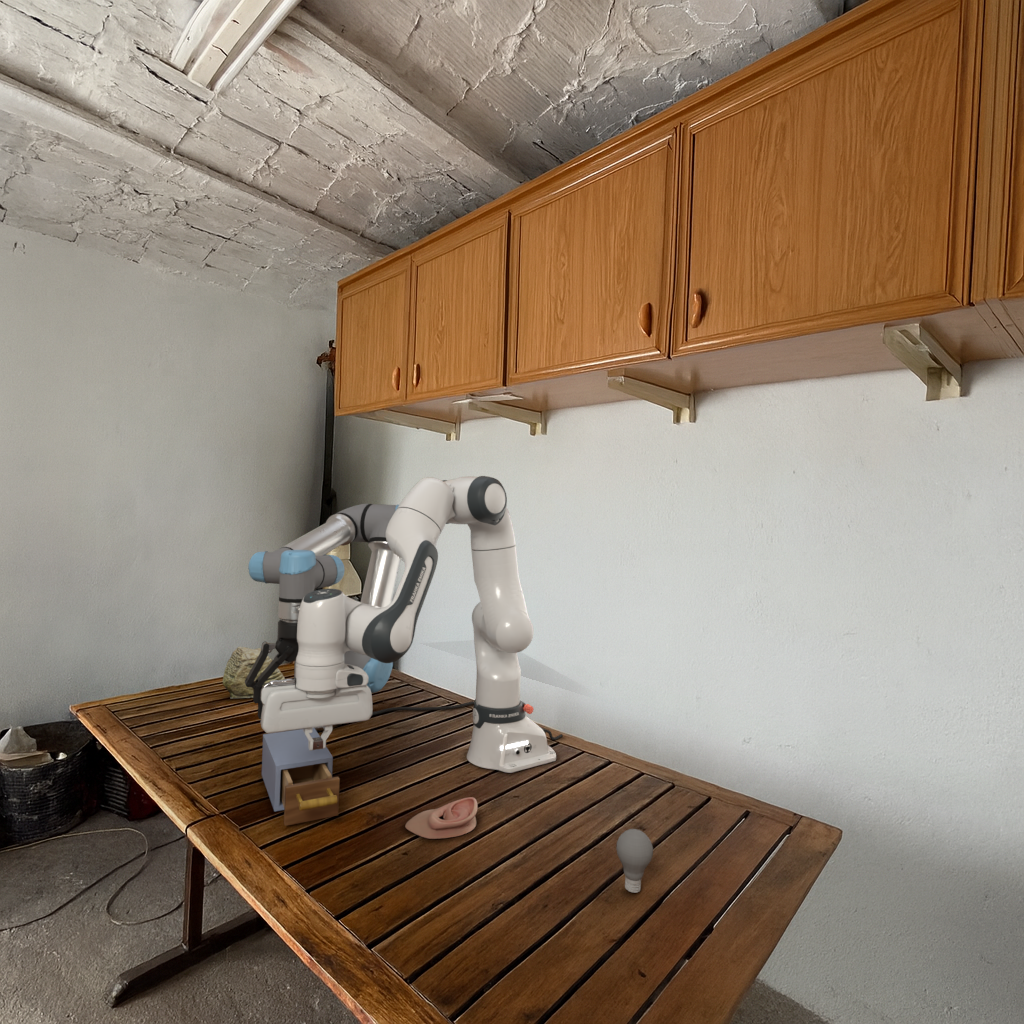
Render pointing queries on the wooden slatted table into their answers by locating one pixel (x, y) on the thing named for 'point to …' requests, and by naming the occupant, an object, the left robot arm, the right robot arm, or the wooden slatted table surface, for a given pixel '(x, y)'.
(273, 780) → the cabinet
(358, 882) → the wooden slatted table surface
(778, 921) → the wooden slatted table surface
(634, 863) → the light bulb
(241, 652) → the fossil
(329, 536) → the left robot arm
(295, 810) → the drawer
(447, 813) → the anatomical model
